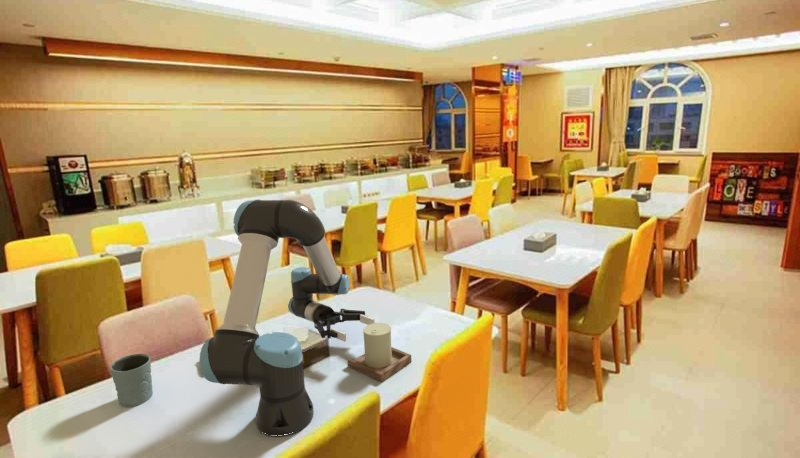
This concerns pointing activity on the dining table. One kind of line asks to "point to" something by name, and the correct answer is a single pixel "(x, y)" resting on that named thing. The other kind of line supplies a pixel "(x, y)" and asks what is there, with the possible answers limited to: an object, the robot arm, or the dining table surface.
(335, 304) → the dining table surface
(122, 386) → the grey embossed cup
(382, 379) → the tray
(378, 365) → the can
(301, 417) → the robot arm
